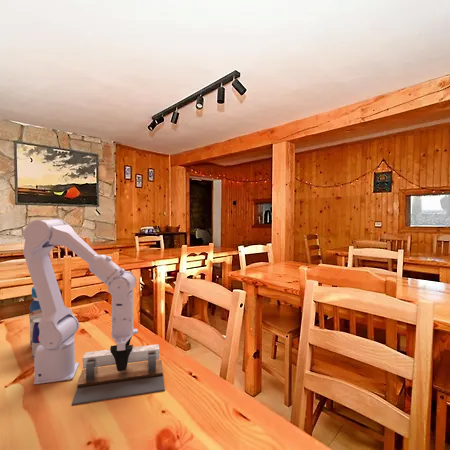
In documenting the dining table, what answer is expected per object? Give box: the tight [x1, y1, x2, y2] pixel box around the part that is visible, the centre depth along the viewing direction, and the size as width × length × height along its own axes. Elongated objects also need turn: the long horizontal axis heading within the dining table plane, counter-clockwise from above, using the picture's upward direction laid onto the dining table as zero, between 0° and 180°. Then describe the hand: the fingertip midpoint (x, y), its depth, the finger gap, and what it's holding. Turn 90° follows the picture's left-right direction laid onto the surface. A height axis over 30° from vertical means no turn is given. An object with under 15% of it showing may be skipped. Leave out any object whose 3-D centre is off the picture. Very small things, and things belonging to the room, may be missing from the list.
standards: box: [76, 354, 164, 389], centre depth 81 cm, size 22×7×6 cm, turn 106°
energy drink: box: [31, 316, 42, 360], centre depth 90 cm, size 5×5×12 cm
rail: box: [82, 344, 160, 370], centre depth 80 cm, size 20×3×3 cm, turn 106°
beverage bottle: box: [28, 286, 43, 348], centre depth 97 cm, size 8×8×20 cm
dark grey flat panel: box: [71, 375, 166, 406], centre depth 74 cm, size 22×6×1 cm, turn 106°
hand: (122, 362), depth 81 cm, fingers open, 7 cm apart
